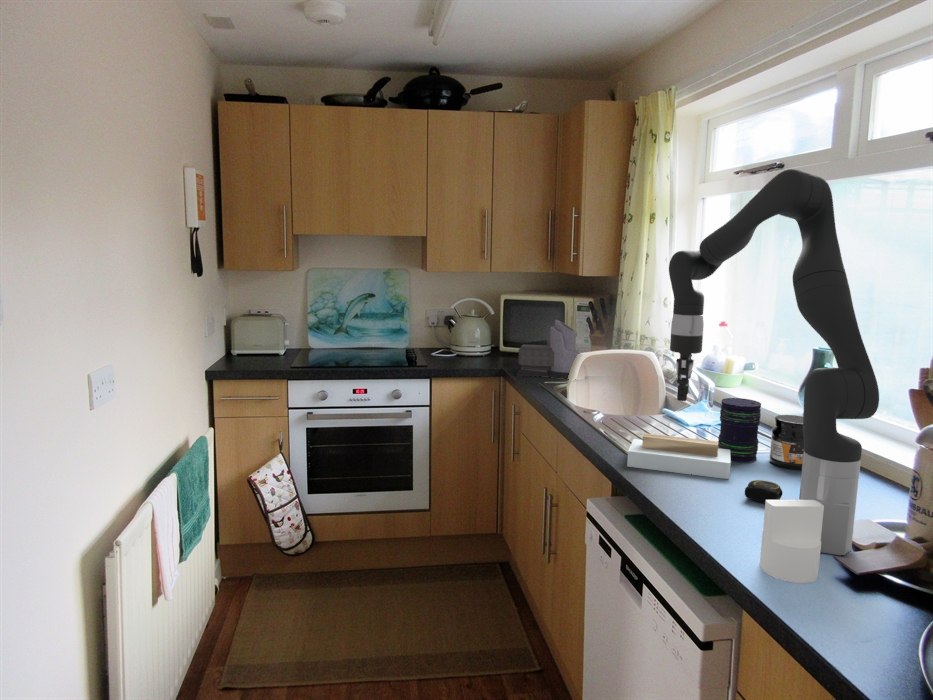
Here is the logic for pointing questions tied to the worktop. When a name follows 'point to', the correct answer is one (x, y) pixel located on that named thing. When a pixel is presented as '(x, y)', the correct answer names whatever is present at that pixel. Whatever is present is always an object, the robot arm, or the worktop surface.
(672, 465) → the slot board
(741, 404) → the storage jar
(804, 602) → the worktop surface
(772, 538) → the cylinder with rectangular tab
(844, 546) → the robot arm
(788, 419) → the supplement container
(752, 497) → the tape measure
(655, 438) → the miniature wooden bench
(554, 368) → the juicer
